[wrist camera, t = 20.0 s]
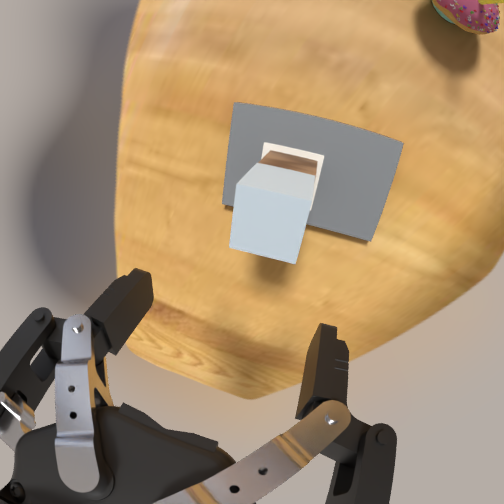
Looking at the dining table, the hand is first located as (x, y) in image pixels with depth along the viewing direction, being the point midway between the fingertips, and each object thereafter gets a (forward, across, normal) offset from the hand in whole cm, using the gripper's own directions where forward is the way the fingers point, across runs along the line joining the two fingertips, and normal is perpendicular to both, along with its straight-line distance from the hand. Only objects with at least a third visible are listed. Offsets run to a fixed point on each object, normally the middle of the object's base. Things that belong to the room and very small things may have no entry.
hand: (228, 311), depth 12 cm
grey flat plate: (+22, -2, -1) cm, 22 cm away
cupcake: (+22, -14, -26) cm, 37 cm away
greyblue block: (+14, 0, 0) cm, 14 cm away
